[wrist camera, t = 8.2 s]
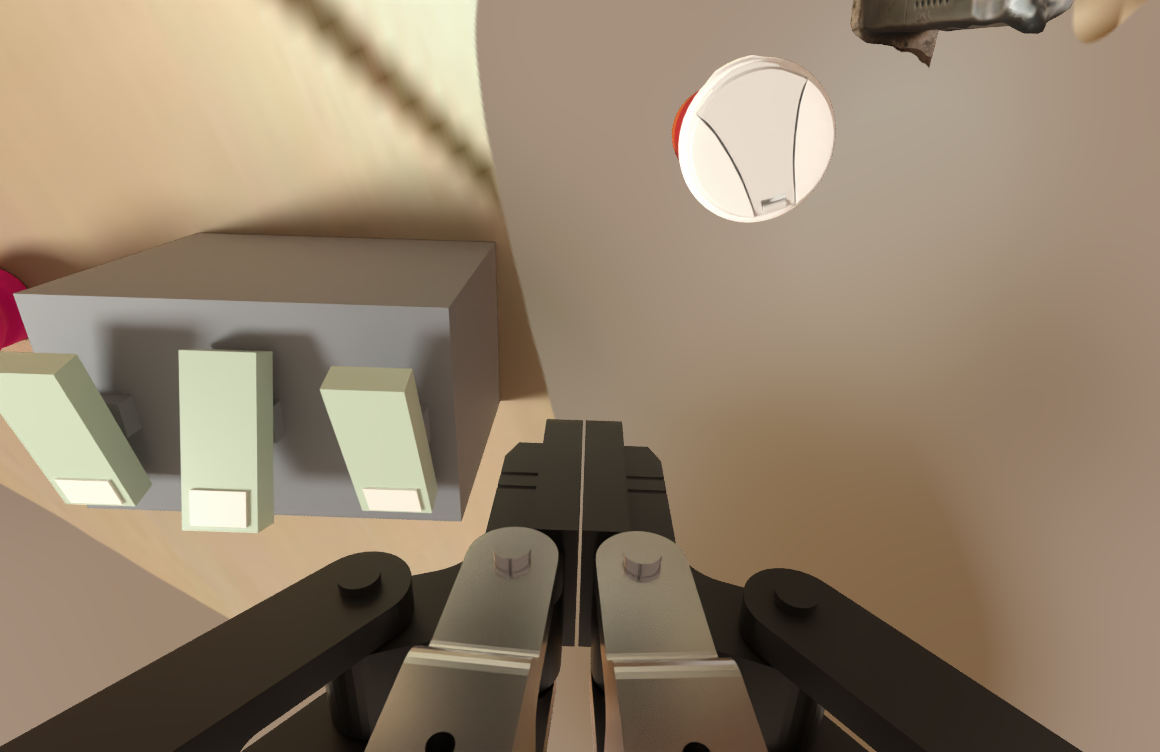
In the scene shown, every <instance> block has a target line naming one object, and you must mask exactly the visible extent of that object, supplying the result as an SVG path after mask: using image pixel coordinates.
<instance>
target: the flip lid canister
mask: <svg viewBox="0 0 1160 752" xmlns="http://www.w3.org/2000/svg"><path fill="white" fill-rule="evenodd" d="M835 133H836V128H835V116H834V113H833V108H832V105H831V102H830V100H829V97H828V95H827V93H826V91H825V90H824V88H823V87H822V85H821V84H820V82H819V81H818V80H817V79H816V78H815V77H814V76H813V75H812V74H811V73H810V72H808V71H807V70H806V69H804V68H803V67H801V66H799V65H797V64H795V63H793V62H791V61H788V60H784V59H780V58H774V57H762V56H755V55H749V56H746V57H742V58H738V59H736V60H734V61H732V62H729V63H728V64H725V65H724V66H722V67H721V68H719V69H718V70H716V71H715V72H714V73H713V74H712V75H711V77H710V78H709V79H708V81H707V82H706V83H705V84H704V86H703V87H702V88H701V89H700V90H699V91H697V92H696V93H695V94H693V95H692V96H691V97H689V98H688V99H687V100H686V101H685V103H684V104H683V105H682V106H681V108H680V109H679V111H678V113H677V115H676V117H675V120H674V123H673V128H672V143H673V148H674V151H675V153H676V156H677V158H678V160H679V161H680V167H681V171H682V174H683V177H684V180H685V182H686V184H687V186H688V188H689V189H690V191H691V193H692V194H693V195H694V196H695V198H696V199H697V200H698V201H699V202H700V203H701V204H702V205H703V206H704V207H705V208H706V209H708V210H709V211H711V212H712V213H714V214H716V215H718V216H720V217H723V218H725V219H728V220H733V221H736V222H748V223H750V222H761V221H765V220H769V219H773V218H775V217H778V216H780V215H783V214H785V213H786V212H788V211H790V210H792V209H793V208H795V207H796V206H797V205H799V204H800V203H801V202H802V201H804V200H805V199H806V198H807V197H808V196H809V195H810V194H811V192H813V190H814V189H815V188H816V186H817V185H818V184H819V182H820V181H821V179H822V177H823V176H824V174H825V172H826V170H827V168H828V165H829V162H830V160H831V157H832V153H833V149H834V144H835Z"/></svg>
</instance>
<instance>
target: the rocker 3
mask: <svg viewBox="0 0 1160 752" xmlns="http://www.w3.org/2000/svg"><path fill="white" fill-rule="evenodd" d="M320 392H321V395H322V398H323V401H324V403H325V406H326V409H327V412H328V415H329V418H330V420H331V423H332V426H333V429H334V432H335V435H336V437H337V440H338V443H339V446H340V449H341V452H342V454H343V457H344V460H345V463H346V466H347V469H348V471H349V474H350V477H351V480H352V483H353V485H354V488H355V491H356V494H357V497H358V500H359V502H360V505H361V508H362V511H386V512H413V513H432V512H433V508H434V504H435V500H436V496H437V492H438V487H437V482H436V477H435V473H434V468H433V463H432V459H431V454H430V449H429V445H428V440H427V435H426V430H425V426H424V421H423V416H422V412H421V407H420V402H419V397H418V393H417V388H416V383H415V379H414V374H413V369H409V368H379V367H349V366H331V367H330V369H329V371H328V373H327V375H326V377H325V379H324V381H323V383H322V385H321V387H320Z"/></svg>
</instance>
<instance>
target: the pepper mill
mask: <svg viewBox="0 0 1160 752" xmlns="http://www.w3.org/2000/svg"><path fill="white" fill-rule="evenodd" d="M26 289H27V288H26V287H25V286H24V285H23V284H22V282H21V281H20V280H19V279H17V278H16V277H14V276H13V275H11V274H10V273H9V272H6V271H4V270H2V269H0V350H1V349H2V348H4V347H7V346H9V345H12V344H14V343H17V342H19V341H21V340H24V339H26V338H28V335H27V332H26V329H25V326H24V324H23V321H22V318H21V315H20V312H19V309H18V306H17V303H16V301H15V298H14V295H13V294H14V293H17V292H20V291H23V290H26Z"/></svg>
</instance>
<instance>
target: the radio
mask: <svg viewBox="0 0 1160 752" xmlns="http://www.w3.org/2000/svg"><path fill="white" fill-rule="evenodd" d="M1072 2H1073V0H854V1H853V8H852V17H851V28H852V31H853V32H854V34H855V35H856V36H858V37H859V38H860V39H862V40H863V41H865V42H866V43H871V44H882V45H888V46H892V47H894V48H895V49H896V50H898V51H900V52H910V53H912V54H914V55H916V56H917V57H918V59H919V60H920V61H921V62H922V63H924V64H926V65H927V66H928V67H930V63H931V59H932V54H933V51H934V47H935V42H936V38H937V34H938V31H939V30H942V31H953V30H961V29H975V28H986V27H1000V26H1010V27H1012V28H1014V29H1016V30H1018V31H1020V32H1022V33H1037V34H1038V33H1040V32H1042V31H1043V30H1044V28H1045V25H1046V23H1047V22H1048V21H1049V20H1051V19H1053V18H1056V17H1057V16H1059V15H1061V14H1062V13H1064V12H1065V11H1066V10H1068V9H1069V8H1070V7H1071V5H1072Z"/></svg>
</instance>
